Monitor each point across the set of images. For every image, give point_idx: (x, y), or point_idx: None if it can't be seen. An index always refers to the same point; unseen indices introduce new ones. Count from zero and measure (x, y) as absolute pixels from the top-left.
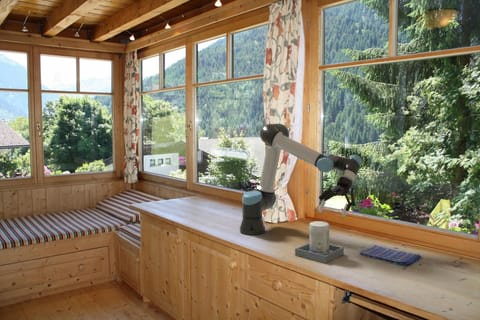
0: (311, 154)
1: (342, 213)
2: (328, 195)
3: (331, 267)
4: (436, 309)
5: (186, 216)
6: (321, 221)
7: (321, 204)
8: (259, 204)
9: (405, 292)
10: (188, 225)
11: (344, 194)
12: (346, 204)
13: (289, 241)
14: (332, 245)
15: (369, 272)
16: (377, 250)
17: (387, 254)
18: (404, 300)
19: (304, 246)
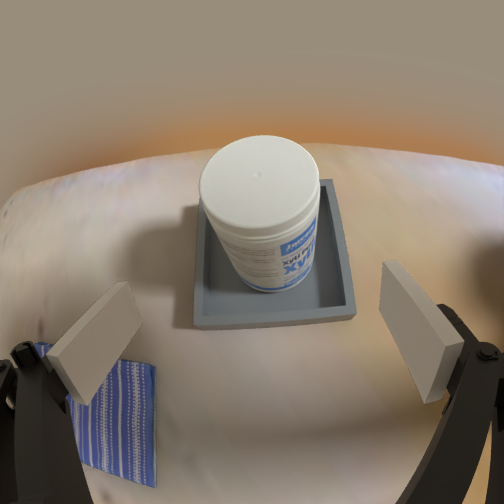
0: None
1: (117, 284)
2: (444, 450)
3: (178, 197)
4: (16, 198)
5: None
6: (279, 220)
7: (412, 298)
8: None
9: (38, 211)
10: None
11: (45, 496)
12: (58, 346)
13: (457, 293)
14: (247, 315)
15: (90, 242)
16: (124, 437)
17: (85, 408)
18: (41, 187)
19: (333, 225)
